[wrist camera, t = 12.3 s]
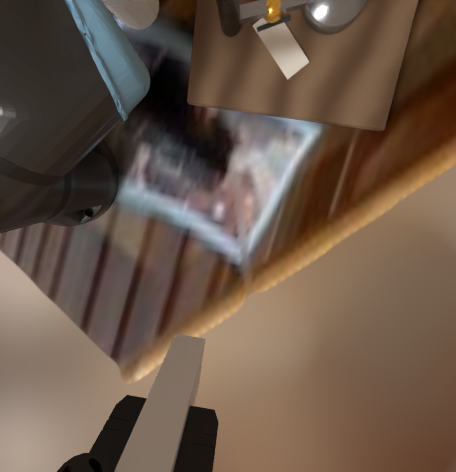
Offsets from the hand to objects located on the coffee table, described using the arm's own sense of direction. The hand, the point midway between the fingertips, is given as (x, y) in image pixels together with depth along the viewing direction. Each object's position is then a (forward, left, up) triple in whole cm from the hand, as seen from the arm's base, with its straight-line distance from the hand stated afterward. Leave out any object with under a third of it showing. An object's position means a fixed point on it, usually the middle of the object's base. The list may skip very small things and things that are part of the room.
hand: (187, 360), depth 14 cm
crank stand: (+5, +27, -29) cm, 40 cm away
